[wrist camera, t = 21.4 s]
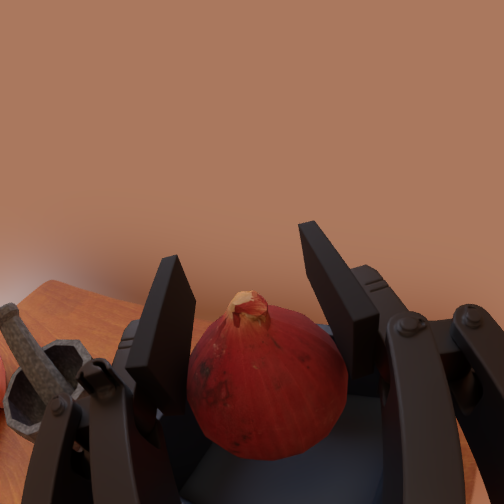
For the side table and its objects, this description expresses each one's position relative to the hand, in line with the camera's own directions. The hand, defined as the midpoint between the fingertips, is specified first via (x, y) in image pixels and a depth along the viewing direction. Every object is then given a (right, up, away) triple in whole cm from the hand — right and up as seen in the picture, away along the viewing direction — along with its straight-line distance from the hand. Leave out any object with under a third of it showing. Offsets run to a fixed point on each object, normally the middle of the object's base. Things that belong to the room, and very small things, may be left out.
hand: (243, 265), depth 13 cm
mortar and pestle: (-14, -15, +5) cm, 21 cm away
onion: (+2, -8, -2) cm, 8 cm away
